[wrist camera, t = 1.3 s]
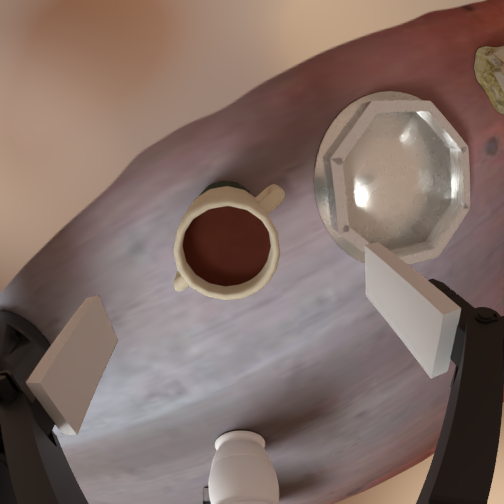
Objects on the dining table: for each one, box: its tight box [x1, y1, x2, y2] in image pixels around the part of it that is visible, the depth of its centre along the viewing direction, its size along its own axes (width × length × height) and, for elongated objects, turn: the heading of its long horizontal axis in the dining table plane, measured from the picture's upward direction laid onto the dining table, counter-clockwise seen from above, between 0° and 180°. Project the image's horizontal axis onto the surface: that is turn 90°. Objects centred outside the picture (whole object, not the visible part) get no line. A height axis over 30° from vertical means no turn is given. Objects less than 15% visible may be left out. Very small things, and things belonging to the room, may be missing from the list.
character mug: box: [173, 181, 285, 300], centre depth 27 cm, size 11×7×13 cm, turn 132°
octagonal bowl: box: [314, 91, 470, 265], centre depth 32 cm, size 21×21×3 cm
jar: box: [209, 431, 279, 504], centre depth 39 cm, size 11×10×15 cm
